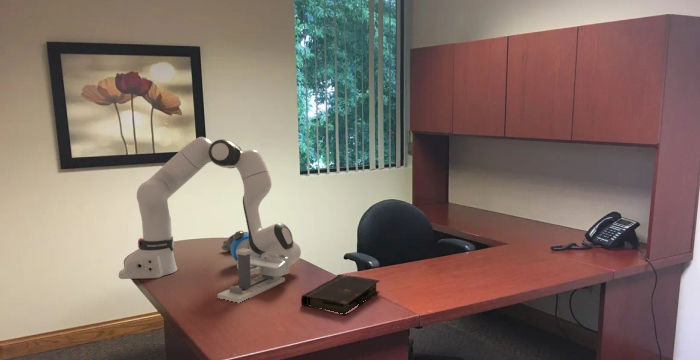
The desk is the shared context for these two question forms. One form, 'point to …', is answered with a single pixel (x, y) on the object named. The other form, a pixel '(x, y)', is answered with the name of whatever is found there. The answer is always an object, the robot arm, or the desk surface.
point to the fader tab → (244, 268)
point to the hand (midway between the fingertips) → (247, 272)
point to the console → (256, 287)
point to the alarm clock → (241, 244)
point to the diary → (341, 293)
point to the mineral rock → (228, 243)
